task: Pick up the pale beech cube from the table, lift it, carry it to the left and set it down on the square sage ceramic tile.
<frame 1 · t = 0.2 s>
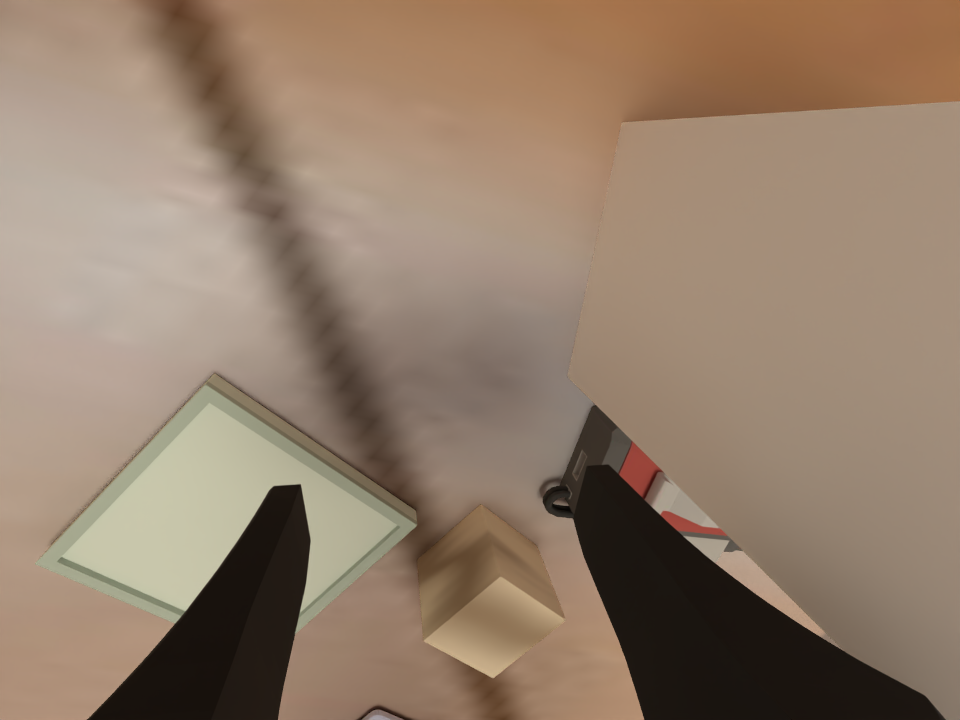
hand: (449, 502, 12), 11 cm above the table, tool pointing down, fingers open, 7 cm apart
walkie-talkie: (694, 476, 29), on the table
beech cube: (478, 551, 27), on the table
sage tile: (245, 527, 23), on the table
milk: (703, 272, 23), on the table
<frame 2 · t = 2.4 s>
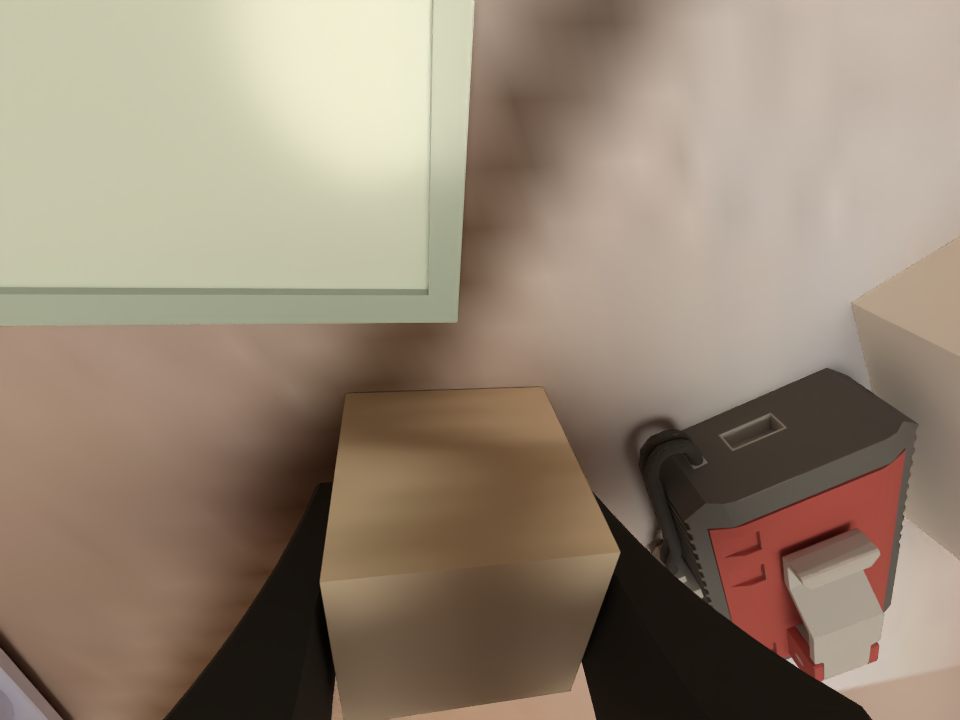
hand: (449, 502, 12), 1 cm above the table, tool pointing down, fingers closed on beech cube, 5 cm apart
walkie-talkie: (731, 553, 19), on the table
beech cube: (444, 462, 13), on the table, touching gripper
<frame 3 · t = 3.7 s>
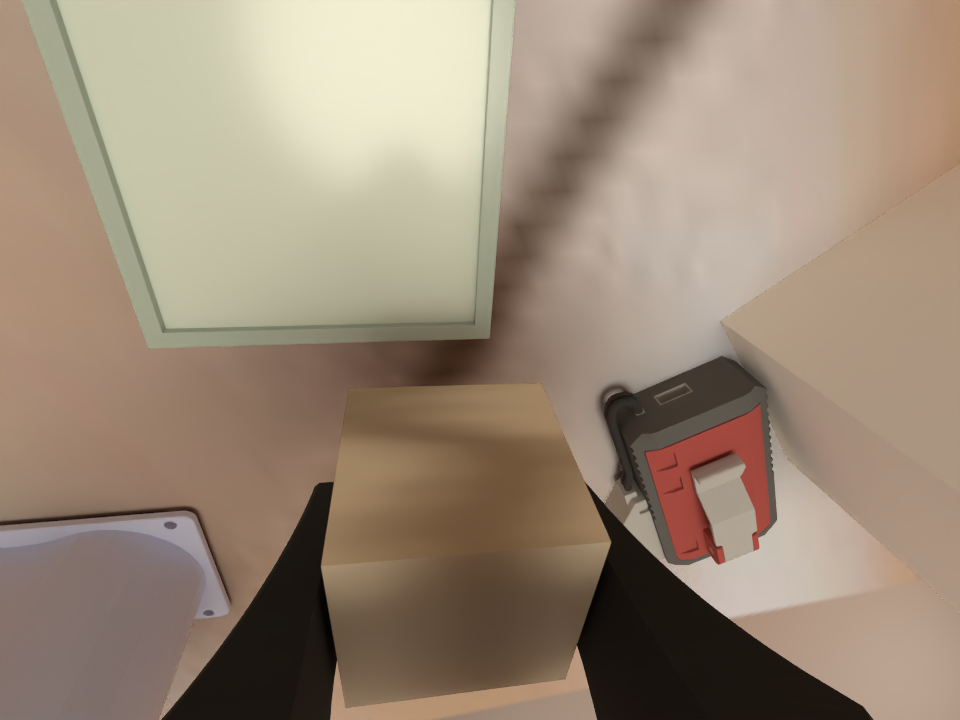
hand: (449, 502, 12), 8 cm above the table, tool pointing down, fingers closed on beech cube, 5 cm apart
walkie-talkie: (673, 488, 28), on the table
beech cube: (445, 456, 13), point 7 cm above the table, touching gripper
sage tile: (311, 162, 15), on the table
milk: (863, 331, 23), on the table
when the fingers open (3 cm above the table, at t = 5.6 s): beech cube stays where it is, resting on sage tile.
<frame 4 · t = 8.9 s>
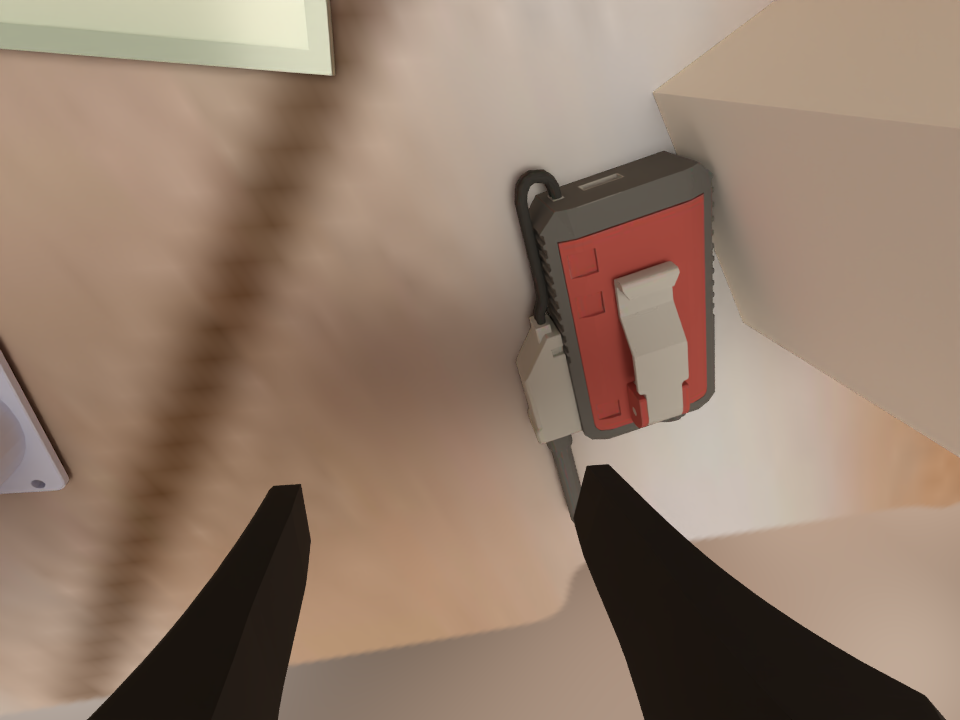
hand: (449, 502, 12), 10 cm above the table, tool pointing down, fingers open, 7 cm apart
walkie-talkie: (601, 355, 23), on the table
milk: (830, 137, 19), on the table
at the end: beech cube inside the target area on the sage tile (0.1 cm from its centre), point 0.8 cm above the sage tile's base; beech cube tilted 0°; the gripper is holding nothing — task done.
